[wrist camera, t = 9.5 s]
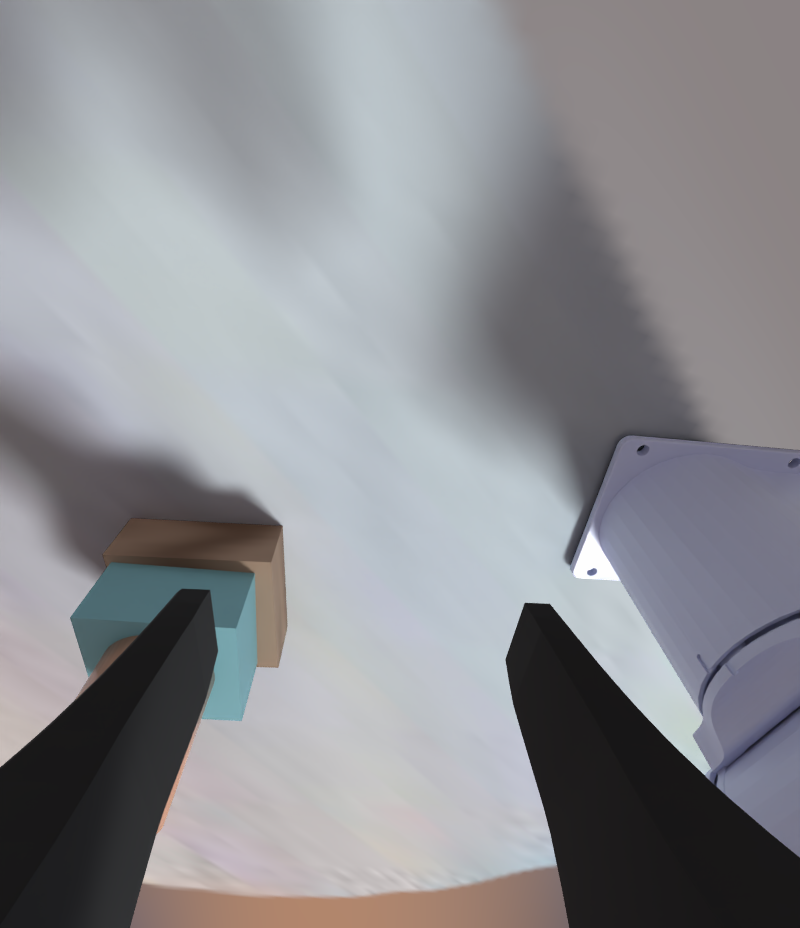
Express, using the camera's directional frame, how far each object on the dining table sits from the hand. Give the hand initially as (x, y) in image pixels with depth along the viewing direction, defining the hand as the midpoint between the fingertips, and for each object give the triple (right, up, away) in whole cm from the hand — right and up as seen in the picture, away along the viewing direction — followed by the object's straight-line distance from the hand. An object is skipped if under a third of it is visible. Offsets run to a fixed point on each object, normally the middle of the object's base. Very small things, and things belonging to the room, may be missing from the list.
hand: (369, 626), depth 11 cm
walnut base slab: (-9, -2, +13) cm, 16 cm away
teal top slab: (-9, -3, +11) cm, 14 cm away
